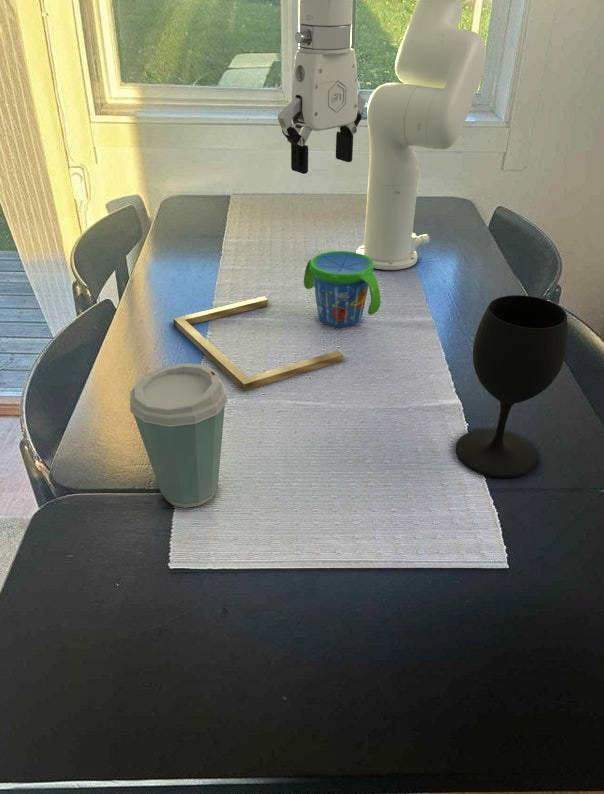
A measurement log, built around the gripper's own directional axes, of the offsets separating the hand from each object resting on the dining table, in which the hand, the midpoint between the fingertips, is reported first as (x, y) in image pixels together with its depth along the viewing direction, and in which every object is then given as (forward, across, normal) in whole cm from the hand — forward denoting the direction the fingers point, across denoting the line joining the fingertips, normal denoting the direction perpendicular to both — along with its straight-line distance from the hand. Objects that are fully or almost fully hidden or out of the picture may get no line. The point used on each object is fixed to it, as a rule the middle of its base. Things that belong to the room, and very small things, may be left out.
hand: (322, 165), depth 110 cm
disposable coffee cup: (+23, -48, -27) cm, 60 cm away
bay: (+24, -17, -3) cm, 29 cm away
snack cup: (+24, -1, -6) cm, 25 cm away
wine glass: (+24, -14, -48) cm, 55 cm away
